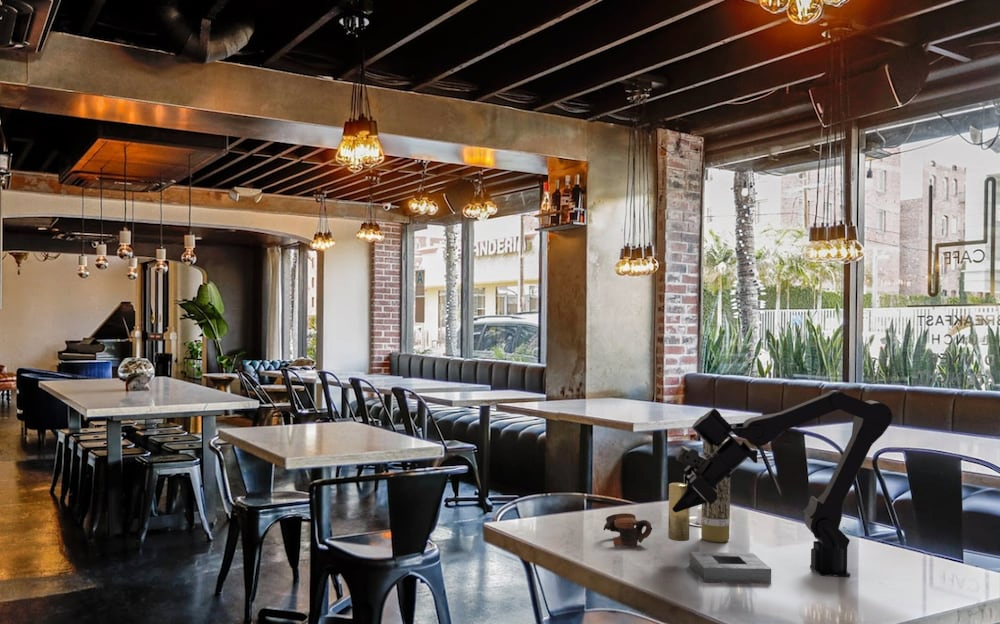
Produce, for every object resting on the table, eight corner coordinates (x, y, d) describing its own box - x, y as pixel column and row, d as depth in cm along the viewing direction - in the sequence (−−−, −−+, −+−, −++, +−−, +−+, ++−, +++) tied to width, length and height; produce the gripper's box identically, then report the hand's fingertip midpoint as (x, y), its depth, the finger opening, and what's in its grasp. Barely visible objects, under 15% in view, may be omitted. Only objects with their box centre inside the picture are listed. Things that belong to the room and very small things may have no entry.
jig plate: (752, 566, 182) (752, 553, 182) (771, 583, 170) (771, 568, 170) (689, 565, 182) (689, 551, 182) (703, 582, 170) (704, 567, 170)
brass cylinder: (686, 536, 186) (687, 483, 186) (691, 541, 181) (692, 486, 182) (666, 535, 186) (667, 482, 186) (670, 540, 181) (671, 486, 182)
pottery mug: (601, 548, 196) (597, 514, 200) (612, 557, 203) (609, 524, 208) (650, 541, 192) (645, 506, 196) (660, 550, 200) (655, 517, 204)
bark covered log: (726, 536, 208) (728, 438, 208) (731, 543, 201) (733, 441, 201) (699, 535, 208) (701, 437, 209) (703, 542, 202) (705, 440, 202)
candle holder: (673, 520, 227) (674, 504, 227) (711, 518, 230) (712, 502, 230) (696, 530, 215) (696, 514, 215) (736, 528, 219) (736, 512, 219)
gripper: (694, 429, 193) (646, 474, 194) (702, 440, 174) (648, 489, 176) (728, 464, 191) (679, 509, 193) (740, 479, 173) (685, 528, 174)
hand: (672, 508), depth 184 cm, fingers closed on brass cylinder, 5 cm apart
